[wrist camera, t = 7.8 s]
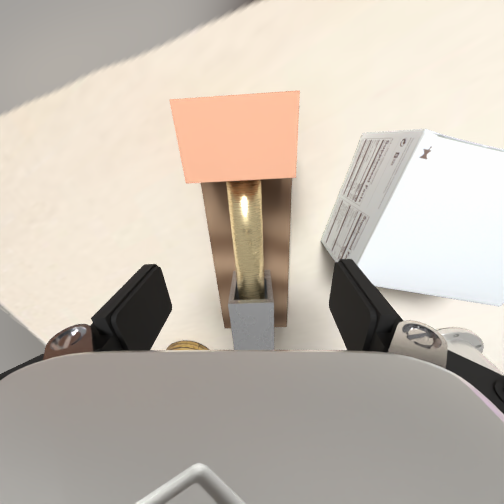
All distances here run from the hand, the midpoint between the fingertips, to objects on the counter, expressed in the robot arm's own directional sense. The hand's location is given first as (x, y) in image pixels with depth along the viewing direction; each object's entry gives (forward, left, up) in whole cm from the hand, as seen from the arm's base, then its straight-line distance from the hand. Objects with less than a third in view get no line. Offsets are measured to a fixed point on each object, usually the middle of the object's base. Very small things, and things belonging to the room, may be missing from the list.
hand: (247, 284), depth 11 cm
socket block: (+7, 0, -15) cm, 16 cm away
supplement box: (-1, -19, -17) cm, 25 cm away
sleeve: (-14, 0, -15) cm, 20 cm away
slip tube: (-3, 0, -12) cm, 13 cm away
